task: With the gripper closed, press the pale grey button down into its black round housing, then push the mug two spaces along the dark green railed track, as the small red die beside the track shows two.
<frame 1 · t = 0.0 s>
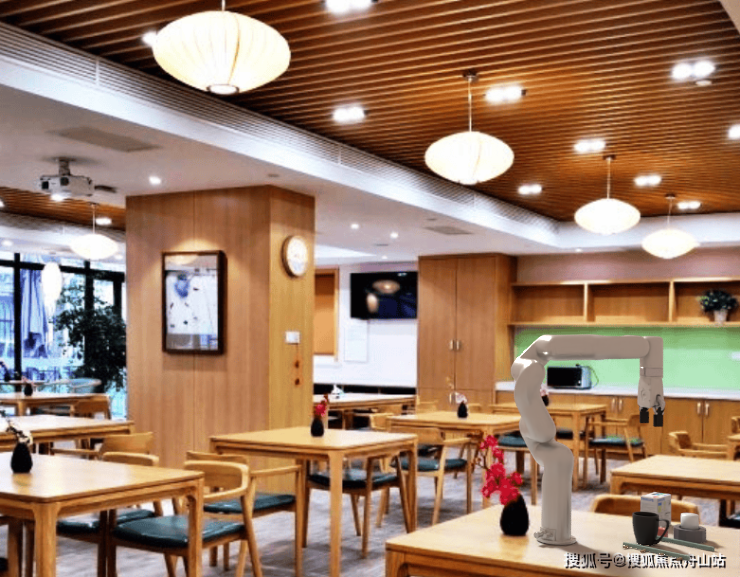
hand: (651, 424, 297), 37 cm above the table, tool pointing down, fingers open, 9 cm apart
mug: (650, 545, 287), on the table
housing: (689, 539, 294), on the table
die: (662, 537, 297), on the table
track: (668, 548, 283), on the table
light bulb box: (655, 526, 315), on the table
button: (689, 522, 294), point 6 cm above the table, slide at 0.0 cm
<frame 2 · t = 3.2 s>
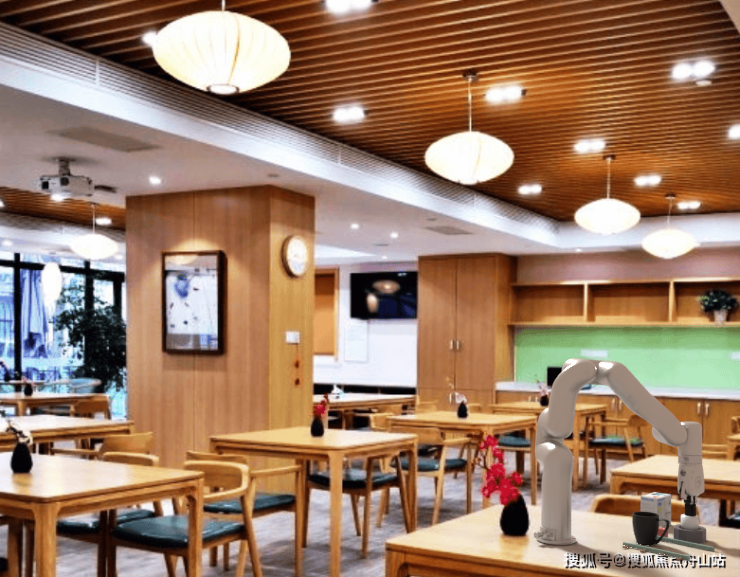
hand: (690, 515, 295), 8 cm above the table, tool pointing down, fingers closed
button: (689, 523, 294), point 5 cm above the table, slide at -0.3 cm, touching gripper
everything else where it was.
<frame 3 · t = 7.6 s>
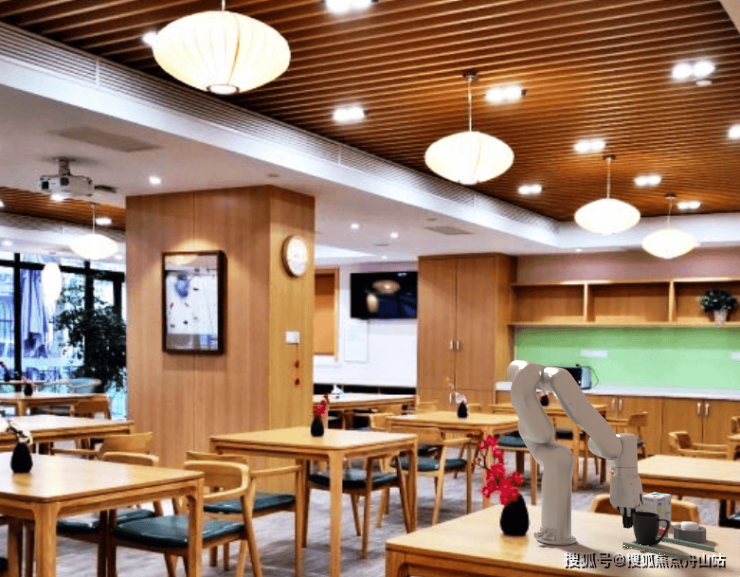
hand: (627, 527, 294), 4 cm above the table, tool pointing down, fingers closed
mug: (651, 545, 287), on the table, touching gripper
button: (689, 530, 294), point 3 cm above the table, slide at -2.8 cm
everything else where it was.
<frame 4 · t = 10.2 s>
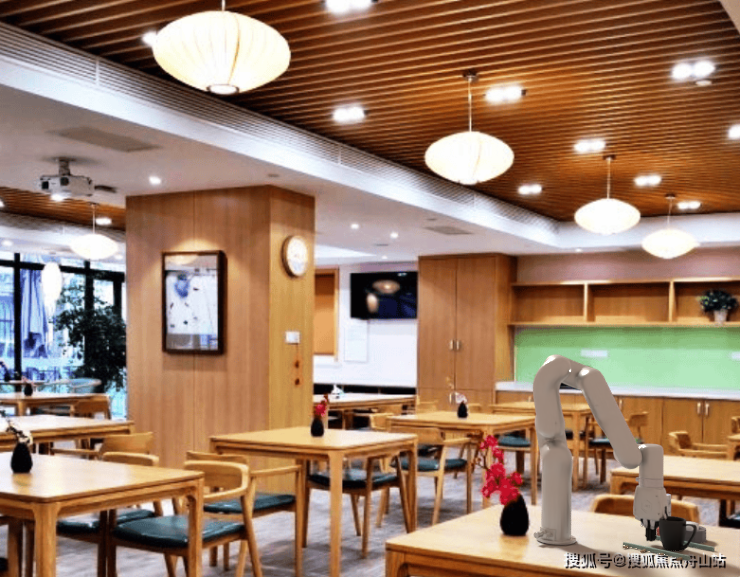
hand: (650, 540, 287), 1 cm above the table, tool pointing down, fingers closed
mug: (677, 551, 280), on the table, touching gripper
everything else where it was.
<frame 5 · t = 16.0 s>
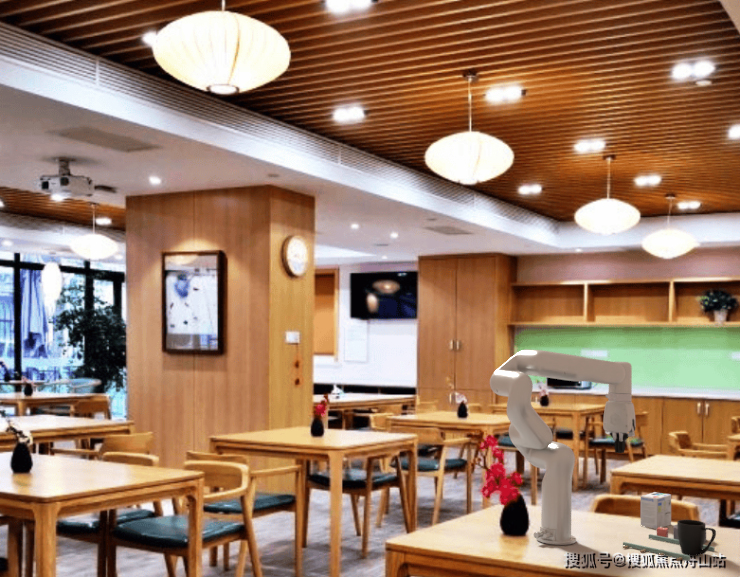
hand: (619, 452, 303), 27 cm above the table, tool pointing down, fingers closed
mug: (696, 555, 276), on the table
everything else where it was.
at the end: button slide at -2.8 cm; mug inside the target area (3.3 cm from its centre), on the table; mug tilted 0° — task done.
